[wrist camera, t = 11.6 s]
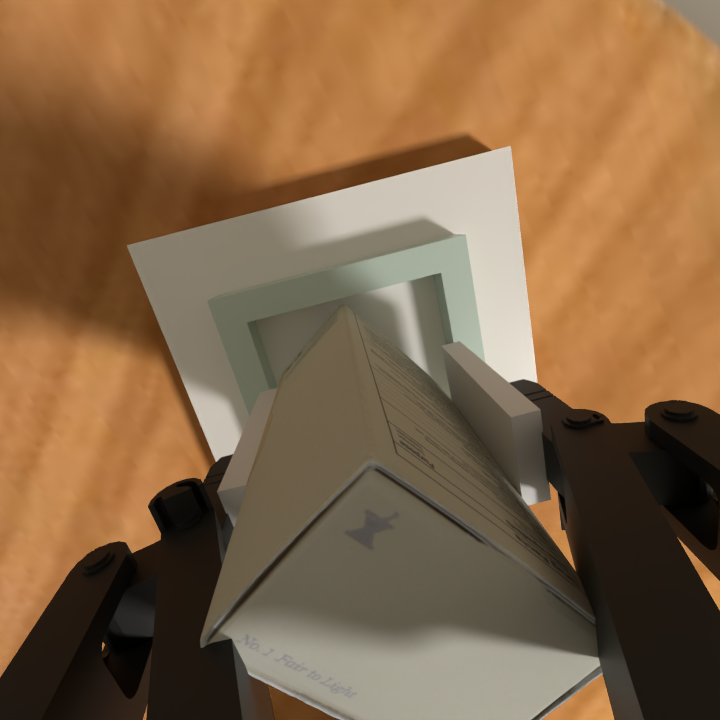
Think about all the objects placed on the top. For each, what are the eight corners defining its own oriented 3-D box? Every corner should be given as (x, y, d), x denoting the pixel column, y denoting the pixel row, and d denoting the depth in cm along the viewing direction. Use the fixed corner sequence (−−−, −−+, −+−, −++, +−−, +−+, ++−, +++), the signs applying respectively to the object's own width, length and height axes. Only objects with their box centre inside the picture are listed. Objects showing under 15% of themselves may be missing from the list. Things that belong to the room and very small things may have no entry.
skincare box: (279, 373, 18) (169, 646, 6) (346, 296, 17) (363, 445, 5) (385, 454, 19) (457, 795, 8) (451, 387, 18) (646, 659, 7)
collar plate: (257, 531, 23) (247, 574, 20) (142, 244, 18) (107, 246, 15) (534, 461, 23) (563, 494, 20) (496, 152, 18) (527, 137, 15)
